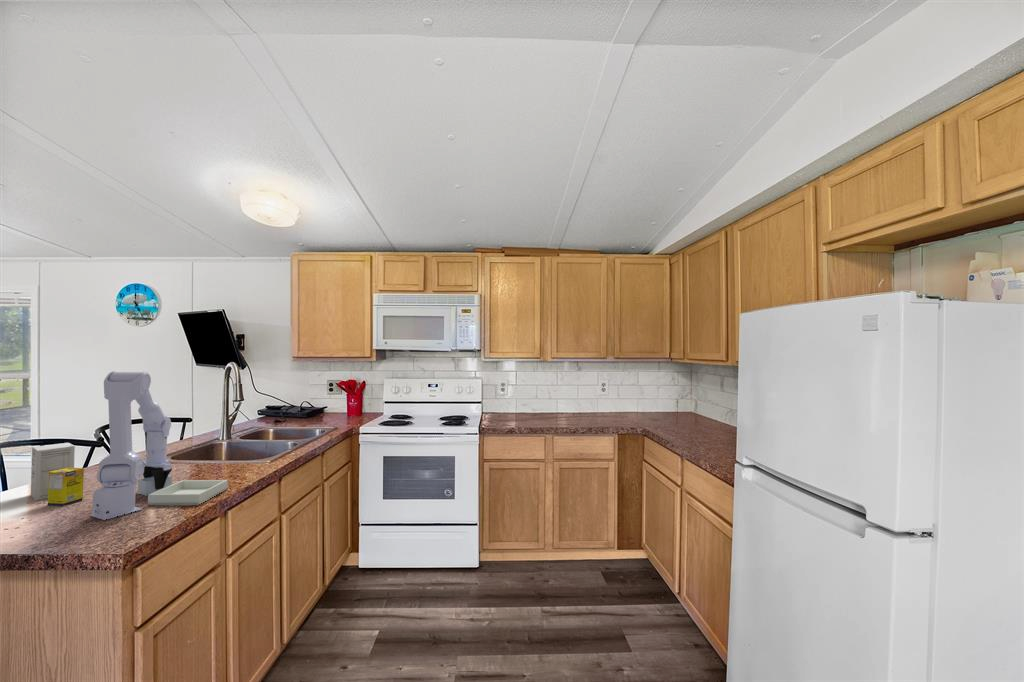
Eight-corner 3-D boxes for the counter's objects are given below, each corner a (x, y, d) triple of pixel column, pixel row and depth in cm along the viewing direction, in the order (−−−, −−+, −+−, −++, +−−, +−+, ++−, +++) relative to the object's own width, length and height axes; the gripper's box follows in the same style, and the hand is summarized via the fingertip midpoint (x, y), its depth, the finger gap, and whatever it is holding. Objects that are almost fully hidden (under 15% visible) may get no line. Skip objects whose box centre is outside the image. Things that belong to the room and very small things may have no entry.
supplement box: (83, 500, 144) (84, 467, 145) (63, 506, 138) (64, 472, 139) (67, 499, 145) (69, 466, 145) (46, 505, 139) (48, 471, 139)
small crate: (145, 496, 149) (146, 481, 149) (137, 494, 151) (138, 479, 151) (171, 489, 157) (172, 475, 157) (163, 487, 159) (164, 474, 159)
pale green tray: (199, 505, 142) (199, 494, 142) (147, 505, 140) (148, 494, 140) (227, 489, 158) (227, 479, 158) (181, 489, 156) (182, 480, 156)
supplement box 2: (68, 488, 156) (70, 441, 157) (74, 493, 151) (76, 445, 151) (29, 495, 148) (31, 446, 149) (34, 500, 143) (36, 450, 144)
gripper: (181, 449, 155) (179, 487, 155) (157, 445, 161) (156, 481, 161) (158, 453, 149) (157, 493, 148) (135, 449, 154) (133, 487, 154)
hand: (155, 487), depth 154 cm, fingers closed on small crate, 5 cm apart
